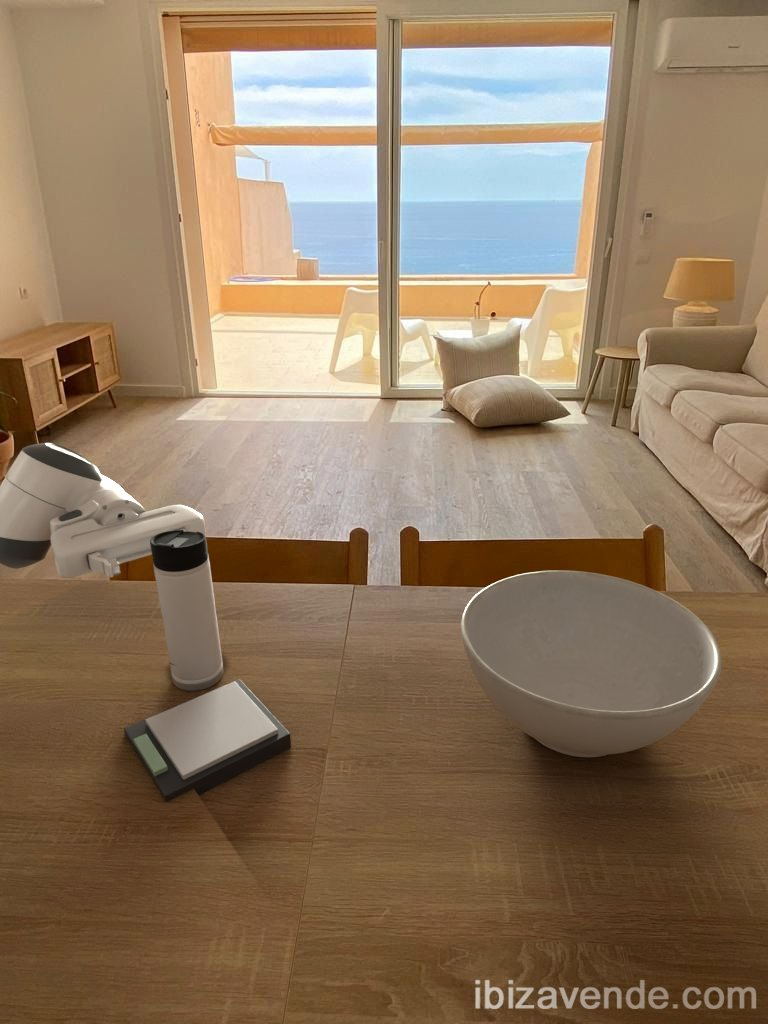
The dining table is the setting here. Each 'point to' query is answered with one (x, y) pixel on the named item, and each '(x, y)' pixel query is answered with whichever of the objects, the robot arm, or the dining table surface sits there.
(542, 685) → the decorative bowl
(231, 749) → the kitchen scale
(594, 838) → the dining table surface
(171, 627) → the travel mug
